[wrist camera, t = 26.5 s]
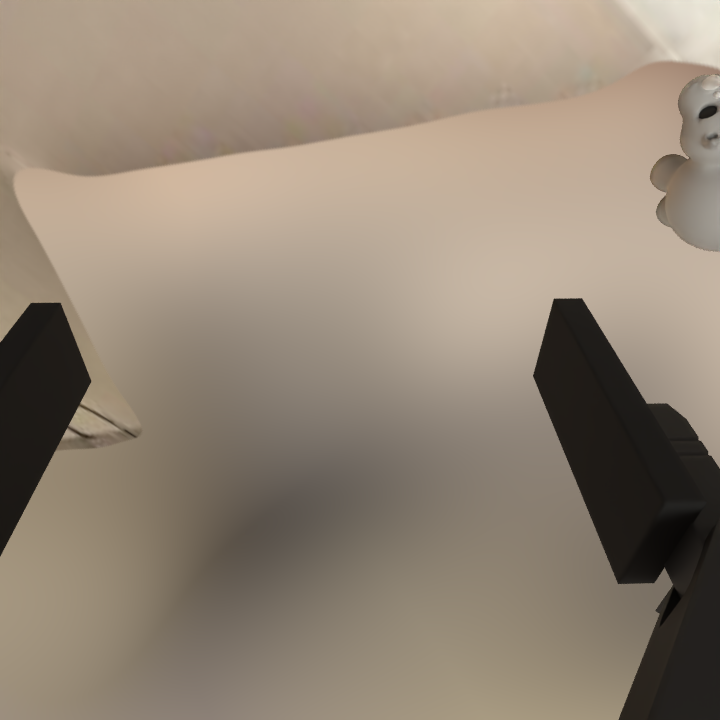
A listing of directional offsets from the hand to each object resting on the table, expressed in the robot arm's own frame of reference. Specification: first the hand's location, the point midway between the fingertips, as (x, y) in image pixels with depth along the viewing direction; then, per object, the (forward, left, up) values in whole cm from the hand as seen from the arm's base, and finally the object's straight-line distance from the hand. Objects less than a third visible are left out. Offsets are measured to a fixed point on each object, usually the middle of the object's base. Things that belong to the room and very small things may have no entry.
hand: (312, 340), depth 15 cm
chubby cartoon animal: (+26, -3, -29) cm, 39 cm away
